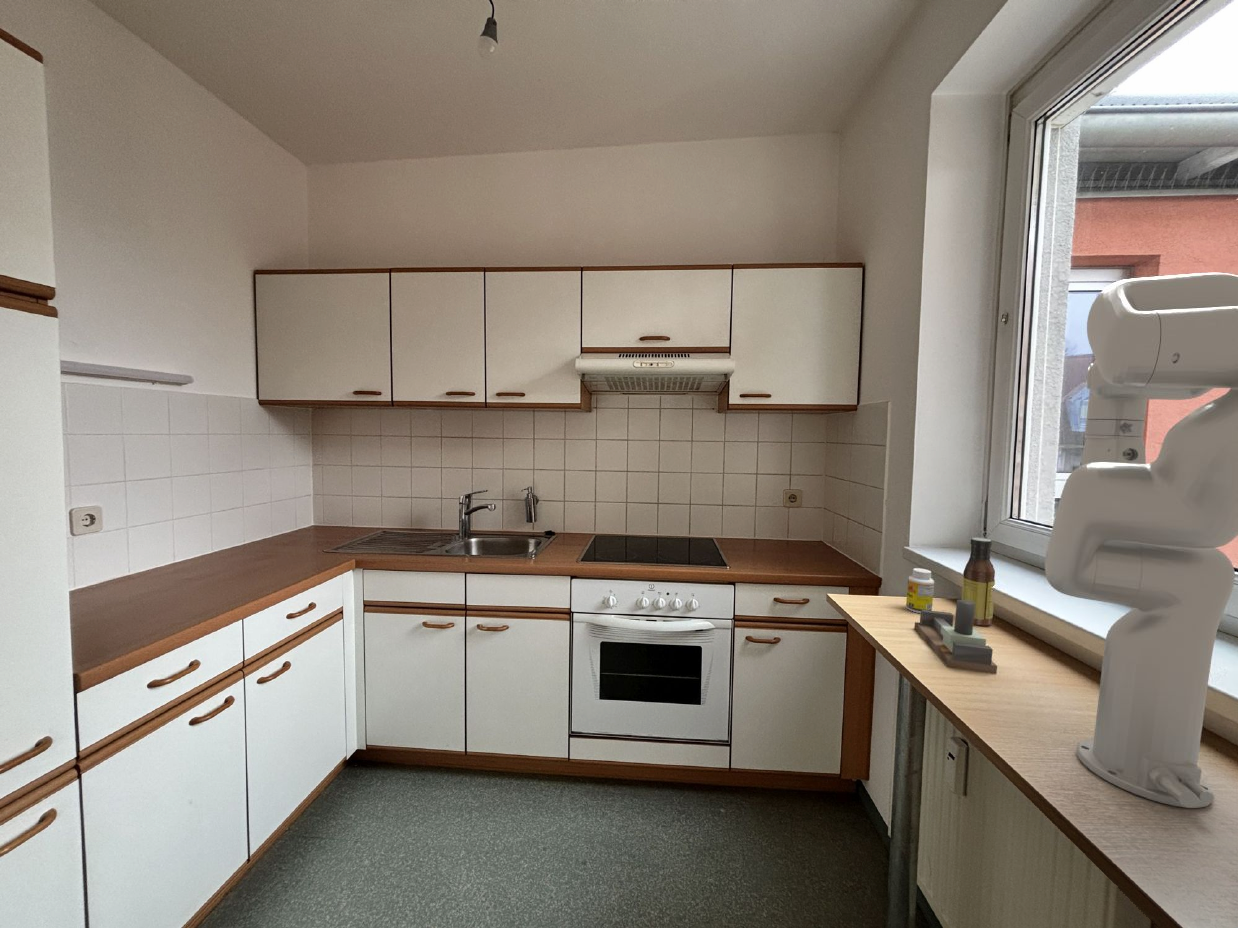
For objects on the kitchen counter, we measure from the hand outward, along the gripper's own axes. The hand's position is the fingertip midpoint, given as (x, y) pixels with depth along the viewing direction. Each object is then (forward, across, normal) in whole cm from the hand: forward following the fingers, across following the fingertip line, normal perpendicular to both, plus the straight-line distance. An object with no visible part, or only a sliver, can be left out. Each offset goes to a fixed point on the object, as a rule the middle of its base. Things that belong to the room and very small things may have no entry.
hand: (1102, 527), depth 94 cm
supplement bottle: (+28, +32, +18) cm, 46 cm away
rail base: (+28, +8, +19) cm, 35 cm away
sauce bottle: (+28, +28, +7) cm, 41 cm away
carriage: (+26, +3, +19) cm, 33 cm away
